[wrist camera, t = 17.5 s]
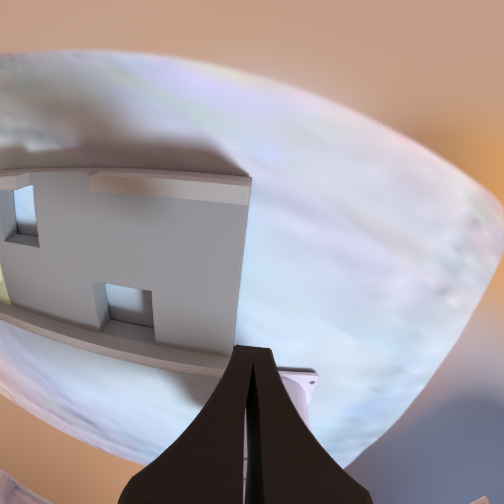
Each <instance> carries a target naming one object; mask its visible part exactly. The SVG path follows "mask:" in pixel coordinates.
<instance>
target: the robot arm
mask: <svg viewBox="0 0 504 504" xmlns="http://www.w3.org/2000/svg"><path fill="white" fill-rule="evenodd" d="M318 379H319V376H318V374H317V373H309V372H290V371H278V369H277V367H276V364H275V361H274V357H273V354H272V350H271V349H270V348H261V347H251V346H242V345H236V346H234V347H233V352H232V355H231V358H230V361H229V363H228V365H227V368H226V370H225V372H224V374H223V376H222V378H221V380H220V382H219V383H218V385H217V387H216V389H215V390H214V392H213V393H212V395H211V397H210V398H209V400H208V401H207V403H206V404H205V406H204V407H203V409H202V410H201V411H200V413H199V414H198V415H197V417H196V418H195V419H194V420H193V422H192V423H191V424H190V425H189V426H188V427H187V429H186V430H185V431H184V432H183V433H182V434H181V435H180V436H179V437H178V439H177V440H176V441H175V442H174V443H173V444H172V445H170V446H169V447H168V448H167V449H166V450H165V451H164V452H163V453H162V454H161V455H160V456H159V457H157V458H156V459H155V460H154V461H153V462H152V463H150V464H149V465H148V466H146V467H145V468H144V469H142V470H141V471H140V472H138V473H137V474H136V475H134V476H133V477H132V478H131V479H130V481H129V482H128V483H127V485H126V486H125V488H124V490H123V491H122V493H121V495H120V498H119V500H118V504H373V502H372V499H371V496H370V494H369V491H367V490H366V489H365V488H364V487H362V486H361V485H360V484H359V483H357V482H356V481H355V480H354V479H353V478H352V477H351V476H349V475H348V474H347V473H346V472H345V471H344V470H343V469H342V468H341V467H340V466H339V465H338V464H337V463H336V462H335V461H334V460H333V458H332V457H331V456H330V455H329V454H328V453H327V452H326V451H325V449H324V448H323V447H322V446H321V445H320V444H319V442H318V441H317V440H316V438H315V437H314V436H313V434H312V433H311V427H310V419H309V411H308V404H309V402H310V399H311V397H312V394H313V392H314V389H315V387H316V384H317V382H318ZM0 504H54V503H52V502H50V501H48V500H46V499H44V498H43V497H41V496H39V495H37V494H36V493H34V492H32V491H30V490H29V489H27V488H26V487H24V486H22V485H21V484H19V483H18V482H16V480H15V479H13V478H12V477H11V476H10V475H8V474H7V473H5V472H4V471H3V470H1V469H0ZM470 504H489V502H488V499H487V496H483V497H481V498H480V499H478V500H476V501H474V502H472V503H470Z"/></svg>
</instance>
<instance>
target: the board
mask: <svg viewBox="0 0 504 504" xmlns="http://www.w3.org/2000/svg"><path fill="white" fill-rule="evenodd" d="M251 184H252V177H243V176H234V175H224V174H213V173H202V172H190V171H176V170H160V169H140V168H109V167H54V168H26V169H8V170H0V273H1V277H2V281H1V282H0V319H1V320H3V321H6V322H8V323H10V324H13V325H15V326H18V327H20V328H23V329H25V330H28V331H30V332H33V333H36V334H38V335H41V336H44V337H47V338H50V339H53V340H55V341H58V342H61V343H64V344H68V345H71V346H74V347H77V348H80V349H84V350H87V351H91V352H94V353H98V354H101V355H105V356H109V357H113V358H116V359H120V360H124V361H129V362H133V363H137V364H142V365H146V366H151V367H156V368H161V369H166V370H171V371H177V372H182V373H188V374H194V375H201V376H207V377H214V378H222V376H223V374H224V372H225V370H226V368H227V365H228V363H229V361H230V358H231V355H232V352H233V343H234V334H235V325H236V316H237V306H238V297H239V288H240V279H241V270H242V261H243V253H244V244H245V235H246V227H247V218H248V209H249V201H250V192H251ZM29 185H34V201H35V213H36V222H37V231H38V237H37V236H30V235H23V234H18V233H17V226H16V218H15V209H14V199H13V190H17V189H20V188H23V187H26V186H29ZM105 283H108V284H113V285H119V286H124V287H130V288H136V289H142V290H148V291H152V306H153V319H154V328H149V327H144V326H139V325H134V324H129V323H124V322H119V321H115V320H110V315H109V309H108V303H107V296H106V289H105Z"/></svg>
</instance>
